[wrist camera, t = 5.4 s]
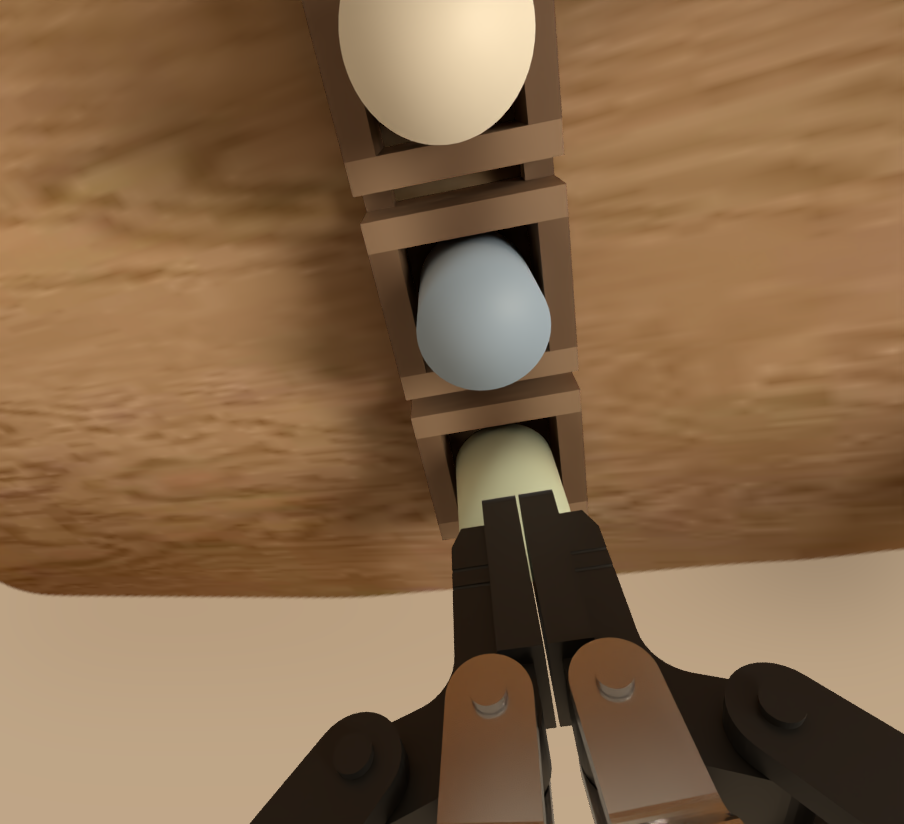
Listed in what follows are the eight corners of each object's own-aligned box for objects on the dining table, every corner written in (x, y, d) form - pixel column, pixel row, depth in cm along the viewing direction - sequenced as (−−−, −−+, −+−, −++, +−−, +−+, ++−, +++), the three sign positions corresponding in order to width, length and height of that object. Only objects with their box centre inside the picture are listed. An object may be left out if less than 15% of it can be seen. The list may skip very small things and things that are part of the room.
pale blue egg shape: (551, 276, 25) (579, 322, 20) (479, 354, 27) (489, 412, 22) (468, 203, 23) (477, 233, 18) (397, 292, 25) (389, 340, 20)
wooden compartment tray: (525, -121, 19) (543, -162, 16) (574, 481, 32) (588, 523, 29) (301, -68, 19) (276, -97, 16) (442, 502, 33) (444, 545, 30)
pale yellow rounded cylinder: (573, 458, 28) (601, 535, 23) (506, 516, 30) (520, 599, 25) (500, 405, 26) (516, 477, 21) (435, 470, 28) (436, 550, 23)
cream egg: (539, 38, 18) (576, 20, 14) (446, 162, 20) (450, 184, 16) (424, -88, 17) (420, -158, 12) (334, 60, 19) (300, 51, 14)
